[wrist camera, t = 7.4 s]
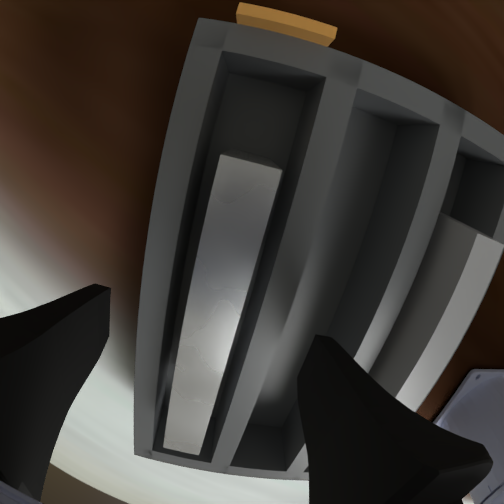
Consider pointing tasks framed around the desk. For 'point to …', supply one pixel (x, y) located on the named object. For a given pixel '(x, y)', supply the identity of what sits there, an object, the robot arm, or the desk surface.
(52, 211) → the desk surface
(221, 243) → the panel
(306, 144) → the rack
